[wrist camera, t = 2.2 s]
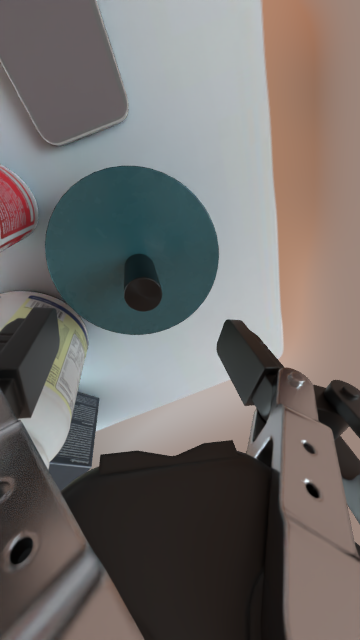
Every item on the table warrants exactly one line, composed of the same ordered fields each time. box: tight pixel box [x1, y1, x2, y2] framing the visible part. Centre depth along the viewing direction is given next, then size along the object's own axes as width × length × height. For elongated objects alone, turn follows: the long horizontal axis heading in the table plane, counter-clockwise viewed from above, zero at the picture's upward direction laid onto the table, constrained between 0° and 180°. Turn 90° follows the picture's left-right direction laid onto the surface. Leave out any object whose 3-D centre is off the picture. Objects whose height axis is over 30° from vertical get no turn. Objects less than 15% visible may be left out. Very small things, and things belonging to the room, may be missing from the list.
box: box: [48, 392, 99, 491], centre depth 30 cm, size 8×6×11 cm
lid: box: [45, 166, 219, 335], centre depth 16 cm, size 14×14×6 cm
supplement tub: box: [0, 291, 89, 469], centre depth 19 cm, size 12×12×17 cm
